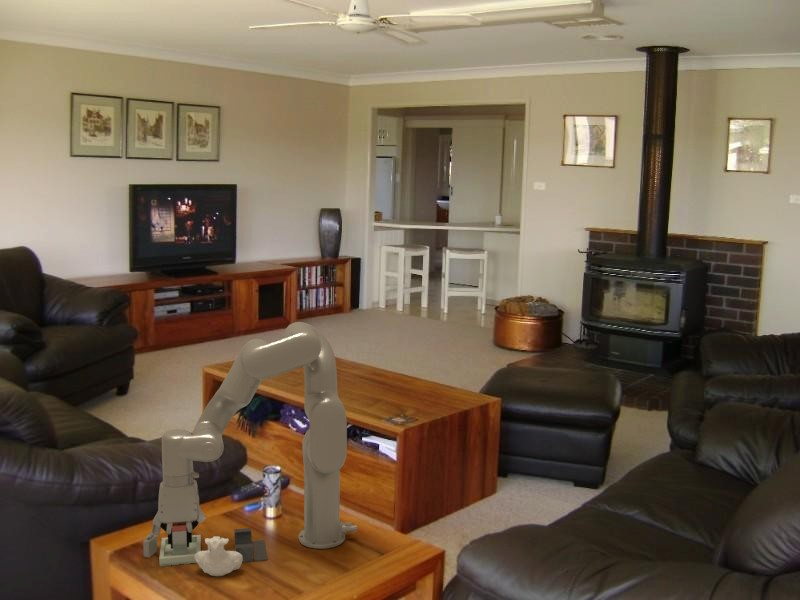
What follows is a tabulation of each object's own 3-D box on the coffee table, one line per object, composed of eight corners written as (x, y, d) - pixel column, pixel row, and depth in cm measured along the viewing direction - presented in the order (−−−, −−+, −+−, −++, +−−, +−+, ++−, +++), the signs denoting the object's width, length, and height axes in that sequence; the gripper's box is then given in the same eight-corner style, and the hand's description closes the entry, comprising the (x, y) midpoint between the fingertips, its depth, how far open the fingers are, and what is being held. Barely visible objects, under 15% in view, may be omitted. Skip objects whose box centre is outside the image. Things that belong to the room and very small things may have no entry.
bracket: (264, 540, 232) (264, 526, 231) (267, 560, 221) (266, 545, 220) (234, 543, 230) (234, 529, 229) (235, 563, 219) (235, 548, 218)
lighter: (149, 557, 221) (148, 528, 220) (143, 556, 222) (142, 527, 220) (163, 545, 228) (162, 517, 227) (157, 544, 229) (156, 516, 227)
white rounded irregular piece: (194, 581, 214) (186, 561, 206) (199, 552, 219) (191, 531, 211) (242, 582, 214) (236, 561, 206) (246, 553, 219) (240, 532, 211)
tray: (200, 542, 230) (200, 534, 230) (200, 563, 219) (200, 555, 218) (162, 545, 228) (161, 537, 228) (159, 566, 217) (159, 558, 216)
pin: (187, 548, 225) (186, 519, 224) (187, 554, 222) (186, 525, 221) (173, 549, 225) (172, 520, 223) (173, 555, 221) (172, 526, 220)
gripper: (211, 471, 225) (212, 536, 228) (145, 475, 222) (148, 541, 225) (211, 481, 218) (212, 549, 221) (143, 486, 215) (146, 555, 218)
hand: (180, 545), depth 223 cm, fingers closed on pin, 3 cm apart
